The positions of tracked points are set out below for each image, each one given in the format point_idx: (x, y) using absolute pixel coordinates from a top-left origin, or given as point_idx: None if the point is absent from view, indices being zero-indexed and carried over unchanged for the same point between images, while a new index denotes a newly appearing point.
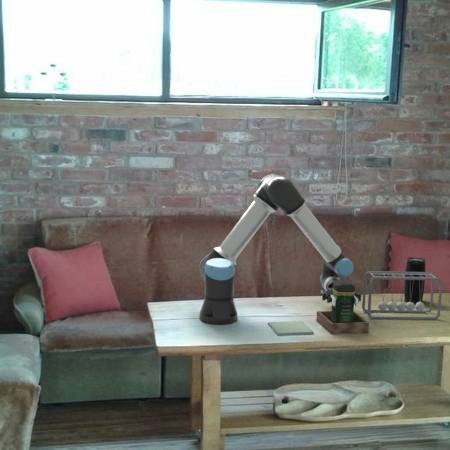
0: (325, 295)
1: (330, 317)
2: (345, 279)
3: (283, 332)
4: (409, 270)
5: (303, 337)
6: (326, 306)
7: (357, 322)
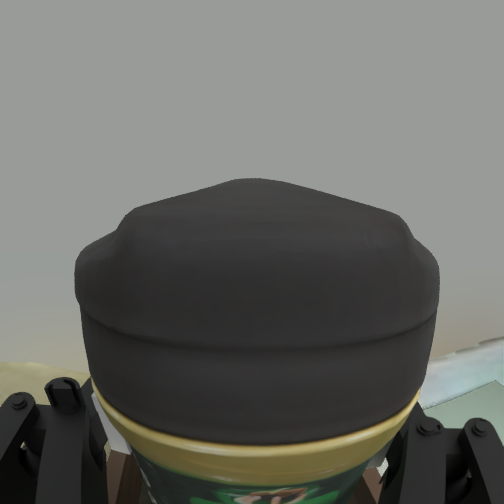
0: (457, 438)
1: None
2: (171, 197)
3: (487, 389)
4: None
5: (422, 390)
6: None
7: None
